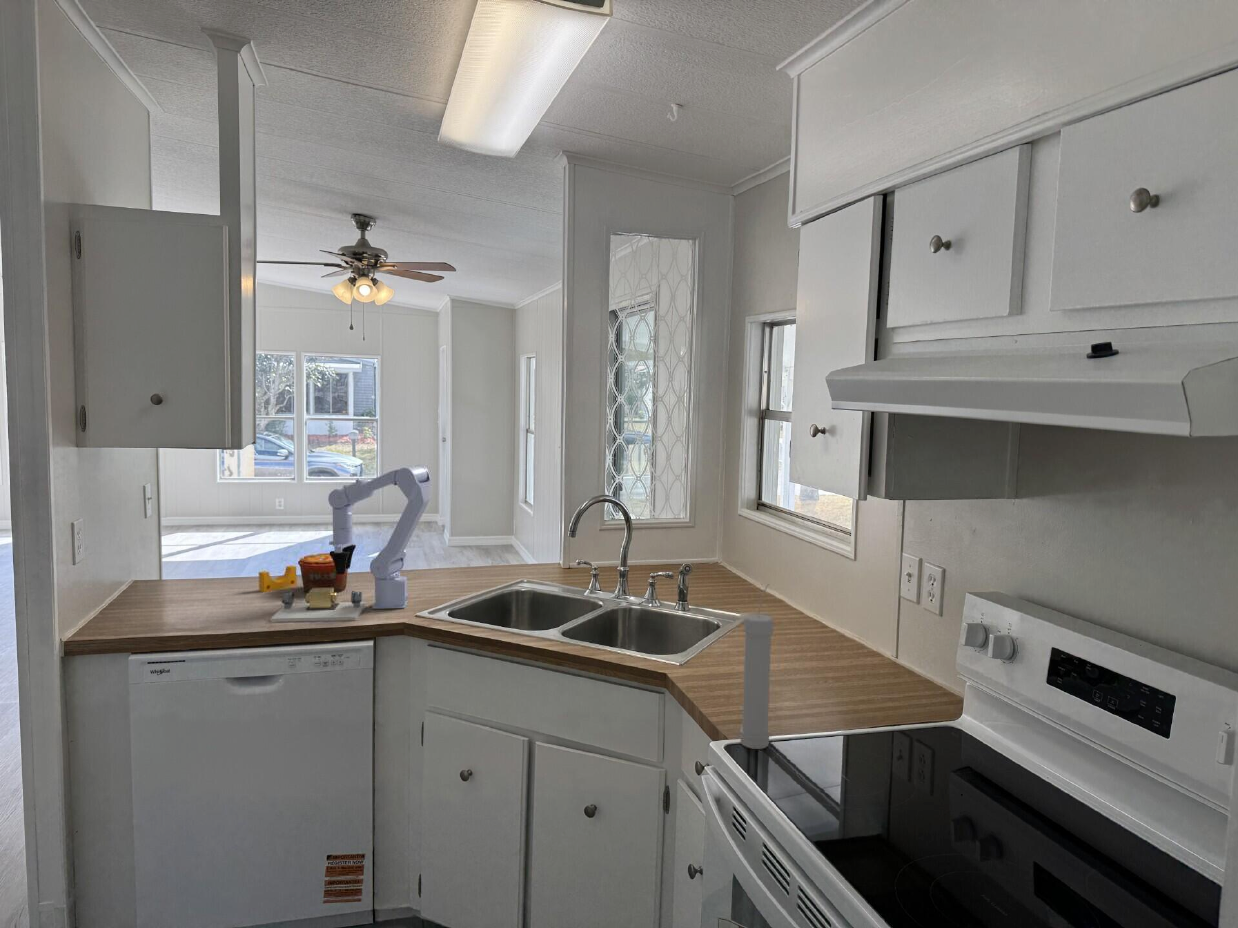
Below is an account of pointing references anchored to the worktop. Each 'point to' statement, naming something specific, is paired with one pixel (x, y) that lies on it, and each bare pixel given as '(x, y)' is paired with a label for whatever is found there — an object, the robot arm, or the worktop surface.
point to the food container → (321, 573)
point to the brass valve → (321, 598)
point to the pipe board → (319, 610)
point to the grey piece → (756, 680)
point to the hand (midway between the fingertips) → (343, 571)
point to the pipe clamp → (277, 580)
